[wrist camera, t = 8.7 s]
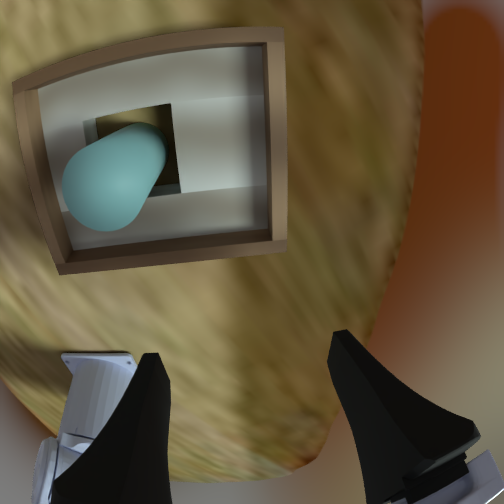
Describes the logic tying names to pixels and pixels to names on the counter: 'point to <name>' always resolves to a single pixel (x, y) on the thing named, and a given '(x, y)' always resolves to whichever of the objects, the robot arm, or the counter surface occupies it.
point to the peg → (114, 176)
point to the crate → (186, 141)
